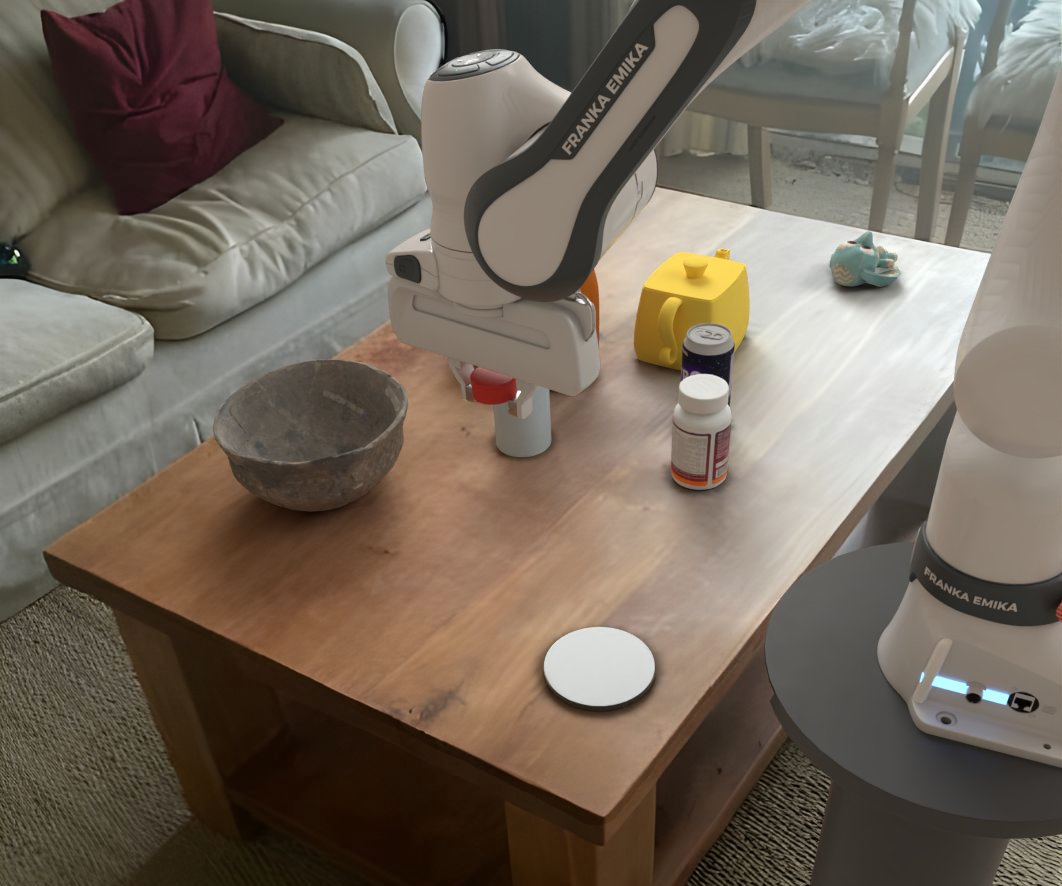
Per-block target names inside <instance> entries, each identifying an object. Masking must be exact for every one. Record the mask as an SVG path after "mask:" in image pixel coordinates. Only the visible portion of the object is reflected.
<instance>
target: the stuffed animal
mask: <svg viewBox="0 0 1062 886" xmlns="http://www.w3.org/2000/svg"><path fill="white" fill-rule="evenodd" d="M873 237H874V235H873V232H872V231H871V230H870V231H869V230H868V231H866V232H864V233H862V234H861V235H860V236H859V237H857V238H856V239H854V240H847V241H845V242H843V243H841V244H839V245H838V246H837V247H836V249H835V251H834V252H833V253H832V254H831V255H830V259H829V264H828V265H829V269H830V272H831V275H832V278H833V280H834V281H835V282H836V283H837V284H838V285H840V286H843V287H858V286H861V285H863V284H866V283H867V284H869V285H873V286H875V287H878V288H883V287H887V286H889V285H892V284H893V283H894V282H895V281H896V280H897V279H898V277H899V276H901V270H900V269H899V267H898V266H896V267H895V264H896V262H897V261H898V258H899V255H898V254H897V253H896V252H889V250H888V249H886V248H884V247H883V246H882V245H877V246H876V245H875V244H874V238H873ZM879 268H881V269H887V270H885V271H882V272H879V273H877V272H876V270H877V269H879Z"/></svg>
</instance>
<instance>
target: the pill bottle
mask: <svg viewBox="0 0 1062 886" xmlns="http://www.w3.org/2000/svg"><path fill="white" fill-rule="evenodd" d="M728 394H729V386H728V384H727V382H726V381H725V380H723V379H722V378H720V377H718V376H714V375H709V374H697V375H692V376H689V377H687V378H685V379H683V380H682V381H681V380H680V382H679V385H678V395H677V404H676V405H675V407H674V409H673V413H672V425H671V451H670V452H671V453H670V474H671V477H672V479H673V480H674V481H675V482H676V483H677V484H678V485H679V486H681V487H684V488H686V489H689V490H695V491H696V490H697V491H704V490H710V489H713V488H717V487H718V486H720V485H721V484H723V482H725V480H726V478H727V474H728V467H729V457H730V446H731V445H730V444H731V433H732V421H733V418H732V417H733V415H732V414H733V413H732V410H731V406H730V407H729V406H728Z"/></svg>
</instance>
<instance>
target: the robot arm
mask: <svg viewBox="0 0 1062 886" xmlns="http://www.w3.org/2000/svg"><path fill="white" fill-rule="evenodd" d="M812 1H813V0H633V2H632V4H631V6H630V8H629V9H628V11H627V12H626V13H625V15H624V17H623V18H622V20H620V22H619V24H618V26H617V27H616V28H615V30H614V31H613V33H612V34H611V36H610V37H609V39H608V40H607V42H606V43H605V44H604V46H603V47H602V49H601V51H599V53H598V55H597V56H596V57H595V59H594V60H593V62H592V63H591V64H590V66H589V67H588V69H586V71H585V73H584V74H583V76H582V77H581V78H580V80H579V81H578V83H577V84H576V86H575V87H574V89H572V91H568V90H567V89H564V88H563V87H561V86H559V85H558V84H555V83H554V82H552V81H550V80H549V79H547V78H546V77H545V76H543V75H542V74H541V73H540V72H538V71H537V70H536V69H535V68H534V66H532V64H530V62H529V60H527V58H526V57H525V56H524V55H522V54H521V53H519V52H517V51H513V50H507V49H501V48H500V49H499V48H497V49H496V48H495V49H485V50H481V51H479V50H478V51H474V52H471V53H468V54H465V55H463V56H460V57H459V56H458V57H455V58H454V59H452V60H450V61H448V62H446V63H445V64H443V65H441V66H440V67H439V68H437V69H436V70H435V71H433V73H431V74H430V75H429V77H428V79H426V81H425V83H424V87H423V90H422V91H423V92H422V97H421V110H420V114H421V115H420V131H421V132H420V134H421V135H420V136H421V138H420V139H421V154H422V165H423V175H424V183H425V186H426V188H427V191H428V193H429V196H430V199H431V205H432V213H431V214H432V215H431V219H430V224H429V228H426V229H424V230H422V231H420V232H418V233H416V234H415V235H413V236H411V237H409V238H407V239H406V240H404V241H403V242H401V243H399V244H398V245H397V246H395V247H394V248H392V249H391V250H390V251H388V252H387V253H386V254H385V257H384V259H385V268H386V271H387V272H388V274H389V275H390V276H391V277H390V279H389V280H388V284H387V301H388V303H387V304H388V313H389V320H390V325H391V329H392V332H393V333H394V334H395V336H396V337H397V339H398V341H400V342H401V343H402V344H405V345H407V346H410V347H414V348H417V349H421V350H423V351H426V352H429V353H432V354H435V355H436V354H437V355H439V356H443V357H445V358H447V365H448V367H449V369H450V371H451V372H452V374H453V375H454V377H455V379H456V380H457V382H458V384H459V385H460V390H461V391H460V392H461V399H462V400H464V401H467V402H471V403H474V404H479V402H477V401H476V400H475V399H474V398H473V396H472V388H471V380H470V375H471V373H472V372H473V371H474V370H475V367H476V368H478V367H480V368H483V369H487V370H490V371H493V372H496V373H499V374H502V375H506V376H509V377H512V378H515V379H516V386H517V387H518V388H522V390H521V391H518V392H517V393H516V394H515V396H514V397H512V398H511V399H509V400H508V407H509V410H508V413H509V414H510V415H512V416H515V417H518V418H521V419H525V418H526V417H527V416H528V415H530V414H531V412H532V409H533V406H532V396H533V395H534V393H535V392H536V390H537V389H538V387H539V386H540V387H543V388H547V389H549V391H554V392H556V393H559V394H563V395H566V396H568V397H569V396H570V397H575V396H577V395H579V394H581V393H582V392H583V391H584V390H586V389H587V388H589V387H590V386H591V385H592V384H593V383H594V382H595V381H596V380H597V378H598V377H599V375H600V373H601V372H600V371H601V362H600V361H601V360H600V359H601V358H600V347H599V348H598V340H597V333H596V328H595V327H596V311H595V307H594V304H593V303H592V302H591V301H590V300H589V299H588V298H587V297H586V296H585V295H584V294H582V293H581V290H580V288H581V286H582V285H583V284H584V283H585V281H586V280H587V278H588V277H589V275H590V274H591V273H592V271H593V270H595V269H596V267H597V265H598V263H599V262H600V260H601V259H602V258H604V256H605V255H606V254H607V252H609V250H610V249H611V248H612V247H613V246H614V245H615V243H616V242H617V241H618V240H619V239H620V238H621V236H622V235H623V234H624V233H625V232H626V230H627V229H628V228H629V227H630V226H631V225H632V223H633V222H634V221H635V220H637V218H638V217H639V215H640V214H641V213H642V212H643V210H644V209H645V207H646V206H647V205H648V203H650V201H651V200H652V197H653V195H654V193H655V191H656V187H657V184H658V179H659V178H658V176H659V162H658V155H657V151H656V148H657V146H658V145H659V143H660V142H661V141H662V140H663V139H664V137H665V136H666V135H667V133H668V132H669V131H670V129H671V128H672V127H673V126H674V124H675V123H676V122H677V120H678V119H679V118H680V117H681V115H682V114H684V112H685V110H686V109H688V107H689V106H690V105H691V104H692V102H693V101H695V99H696V98H697V97H698V96H699V95H700V94H701V93H702V92H703V91H704V90H705V89H706V88H707V87H708V86H709V85H710V84H711V83H712V82H713V81H714V80H715V79H716V78H718V76H720V75H721V74H722V73H723V72H725V70H727V69H728V68H729V67H730V66H732V65H733V64H734V63H735V62H736V61H737V60H739V59H740V58H742V56H744V55H745V54H747V53H748V52H749V51H751V50H752V49H753V48H754V47H755V46H757V45H758V44H759V43H760V42H762V41H764V40H765V39H766V38H767V37H769V36H770V35H772V33H774V32H775V31H777V30H778V29H779V28H780V27H782V26H783V25H784V24H786V23H787V22H788V21H789V20H791V19H792V18H793V17H794V16H796V15H797V14H798V13H799V12H801V11H802V10H803V9H804V8H805V7H806V6H808V5H809V4H810V3H812ZM579 298H581V299H579ZM953 399H954V404H955V407H956V412H955V414H954V418H953V422H952V424H951V427H950V431H949V433H948V436H947V439H946V443H945V446H944V450H943V453H942V454H943V455H942V459H941V463H940V467H939V471H938V475H937V478H936V479H937V480H936V482H935V483H936V484H935V488H934V490H933V491H934V492H933V496H932V500H931V504H930V507H929V512H928V513H927V515H926V517H925V519H924V520H923V522H922V524H920V527H919V529H918V531H917V533H916V537H915V540H914V542H915V544H914V548H913V552H912V557H911V561H910V566H911V568H910V574H909V580H910V583H909V585H908V588H907V590H906V593H905V595H904V597H903V600H902V602H901V604H900V606H899V608H898V610H897V612H896V614H895V615H894V617H893V619H892V620H891V622H890V623H889V625H888V626H887V627H886V629H885V630H884V632H883V633H882V635H881V637H880V639H879V643H878V648H877V656H878V661H879V665H880V668H881V670H882V672H883V674H884V676H885V677H886V679H887V680H888V682H889V683H890V684H891V686H892V687H893V688H894V689H895V690H896V691H897V692H898V693H899V694H900V696H901V697H902V698H903V699H904V700H905V702H906V703H907V705H908V708H909V711H910V714H911V717H912V719H913V722H914V723H915V725H916V726H917V727H918V728H919V729H920V730H921V731H923V732H925V733H928V734H931V735H935V736H939V737H943V738H947V739H951V740H954V741H958V742H962V743H966V744H970V745H974V746H978V747H982V748H986V749H990V750H994V751H997V752H1001V753H1005V754H1009V755H1013V756H1017V757H1021V758H1025V759H1029V760H1033V761H1037V762H1040V763H1044V764H1048V765H1052V766H1056V767H1060V768H1062V62H1061V64H1060V66H1059V69H1058V72H1057V75H1056V78H1055V80H1054V84H1053V87H1052V90H1051V92H1050V95H1049V99H1048V102H1047V105H1046V108H1045V111H1044V114H1043V117H1042V119H1041V122H1040V124H1039V127H1038V130H1037V133H1036V136H1035V139H1034V142H1033V144H1032V147H1031V150H1030V152H1029V154H1028V157H1027V160H1026V162H1025V165H1024V167H1023V170H1022V172H1021V175H1020V178H1019V180H1018V183H1017V186H1016V188H1015V190H1014V193H1013V196H1012V198H1011V200H1010V204H1009V206H1008V208H1007V211H1006V214H1005V217H1004V219H1003V222H1002V224H1001V227H1000V230H999V232H998V235H997V237H996V240H995V243H994V245H993V248H992V251H991V253H990V256H989V259H988V261H987V263H986V267H985V269H984V272H983V274H982V278H981V280H980V282H979V285H978V288H977V291H976V293H975V297H974V298H973V302H972V304H971V307H970V310H969V313H968V316H967V318H966V321H965V323H964V326H963V329H962V332H961V335H960V338H959V342H958V347H957V352H956V357H955V362H954V373H953ZM943 723H947V724H943Z"/></svg>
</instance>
